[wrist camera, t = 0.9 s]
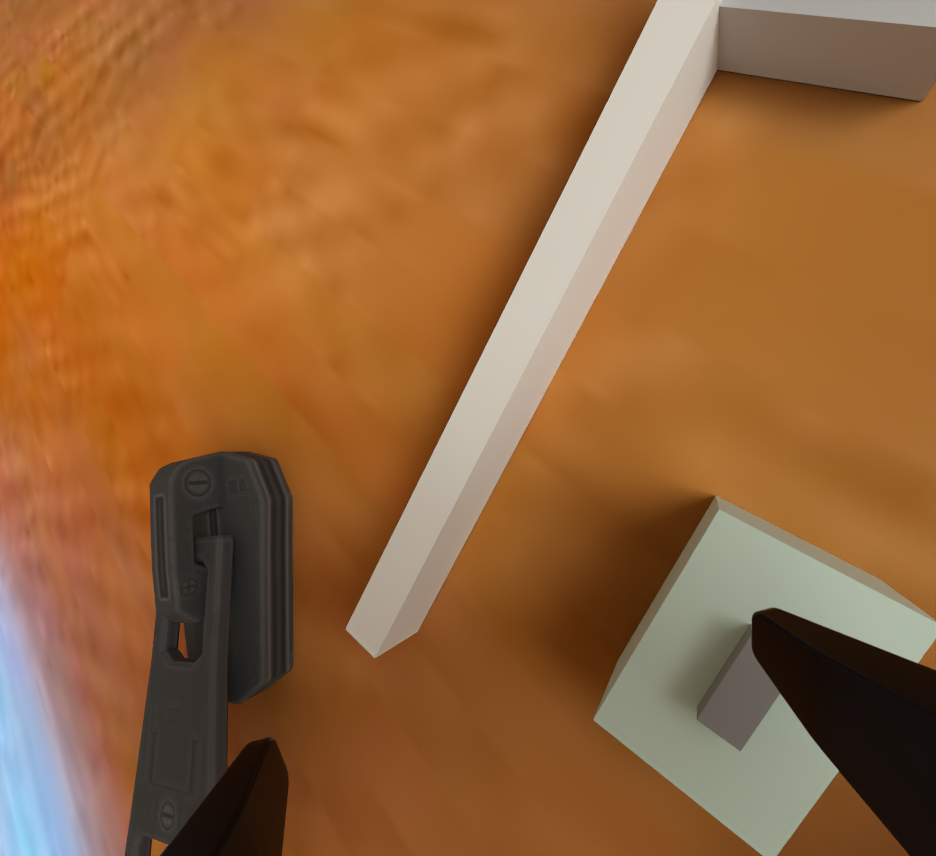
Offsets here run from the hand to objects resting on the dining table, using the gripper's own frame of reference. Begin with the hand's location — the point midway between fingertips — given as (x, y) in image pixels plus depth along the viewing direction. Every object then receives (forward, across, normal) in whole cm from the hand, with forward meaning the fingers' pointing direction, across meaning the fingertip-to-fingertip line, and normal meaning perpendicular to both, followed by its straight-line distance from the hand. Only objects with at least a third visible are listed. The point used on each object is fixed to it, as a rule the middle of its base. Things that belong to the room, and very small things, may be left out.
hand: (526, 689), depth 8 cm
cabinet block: (+7, -9, +7) cm, 13 cm away
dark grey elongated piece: (+20, +14, +12) cm, 27 cm away
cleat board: (+12, -7, -2) cm, 14 cm away
